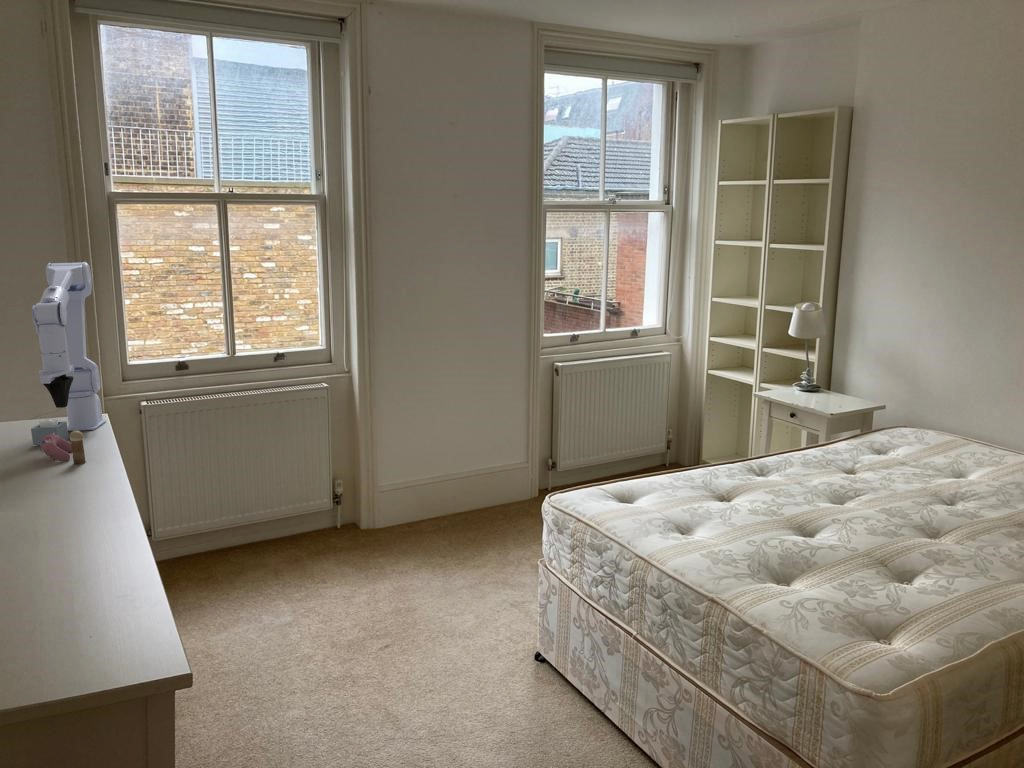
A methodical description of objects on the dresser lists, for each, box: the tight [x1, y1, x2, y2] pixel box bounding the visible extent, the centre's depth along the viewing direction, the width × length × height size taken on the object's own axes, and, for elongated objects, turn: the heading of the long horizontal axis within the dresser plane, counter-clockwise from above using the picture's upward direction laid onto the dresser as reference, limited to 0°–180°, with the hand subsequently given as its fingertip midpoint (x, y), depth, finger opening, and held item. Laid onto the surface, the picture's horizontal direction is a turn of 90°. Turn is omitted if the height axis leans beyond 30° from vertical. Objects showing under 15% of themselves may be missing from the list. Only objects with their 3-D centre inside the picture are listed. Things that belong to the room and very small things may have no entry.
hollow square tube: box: [30, 421, 70, 446], centre depth 207 cm, size 6×6×4 cm
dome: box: [38, 418, 59, 427], centre depth 207 cm, size 4×4×4 cm
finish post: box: [68, 430, 87, 465], centre depth 188 cm, size 3×3×8 cm
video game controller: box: [39, 433, 72, 462], centre depth 193 cm, size 10×5×7 cm, turn 21°
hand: (61, 407), depth 202 cm, fingers closed
